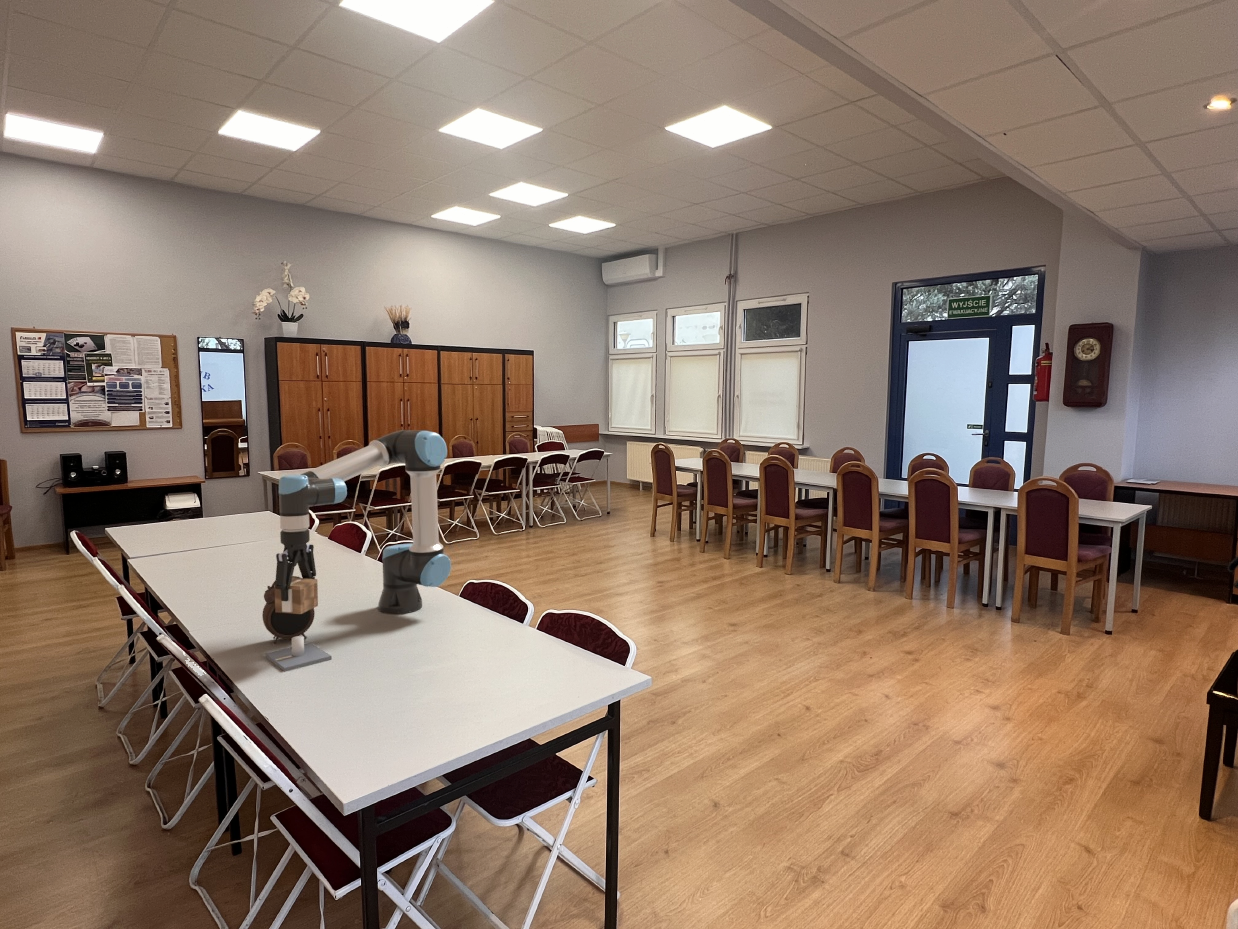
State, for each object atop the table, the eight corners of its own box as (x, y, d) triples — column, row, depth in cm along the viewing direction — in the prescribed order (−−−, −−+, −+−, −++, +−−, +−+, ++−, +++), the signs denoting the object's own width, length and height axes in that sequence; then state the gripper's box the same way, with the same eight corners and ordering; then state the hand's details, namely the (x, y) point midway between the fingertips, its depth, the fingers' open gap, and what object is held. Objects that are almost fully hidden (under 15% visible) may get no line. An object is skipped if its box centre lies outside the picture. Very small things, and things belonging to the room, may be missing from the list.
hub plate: (310, 645, 207) (310, 626, 207) (331, 659, 197) (331, 639, 197) (265, 656, 198) (264, 636, 198) (284, 671, 188) (284, 650, 187)
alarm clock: (266, 648, 205) (264, 583, 203) (262, 641, 211) (260, 577, 209) (317, 638, 214) (316, 576, 212) (312, 632, 219) (311, 571, 218)
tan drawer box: (293, 604, 201) (292, 576, 200) (318, 605, 200) (317, 578, 199) (275, 612, 193) (274, 583, 192) (300, 614, 192) (300, 585, 191)
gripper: (305, 522, 205) (307, 596, 207) (257, 535, 185) (260, 617, 187) (328, 523, 204) (330, 597, 206) (282, 537, 183) (285, 619, 185)
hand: (297, 606), depth 196 cm, fingers closed on tan drawer box, 8 cm apart
